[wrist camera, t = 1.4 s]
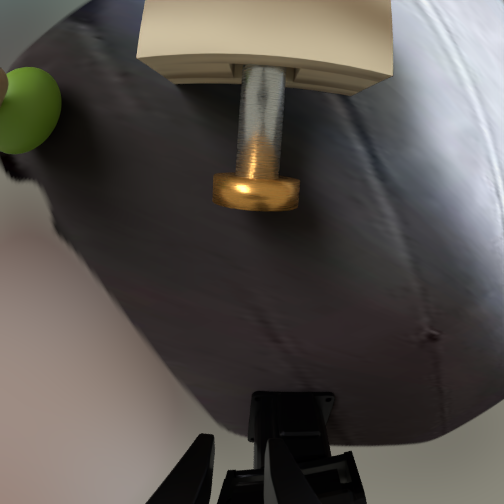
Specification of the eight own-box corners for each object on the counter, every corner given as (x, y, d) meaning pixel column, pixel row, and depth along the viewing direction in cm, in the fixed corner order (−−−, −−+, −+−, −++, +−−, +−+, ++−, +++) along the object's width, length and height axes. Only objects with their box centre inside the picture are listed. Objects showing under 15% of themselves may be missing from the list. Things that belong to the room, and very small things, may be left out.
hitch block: (350, 96, 15) (392, 75, 10) (174, 83, 15) (136, 58, 10) (352, 9, 13) (386, -36, 8) (184, -3, 13) (157, -52, 8)
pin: (293, 198, 16) (303, 214, 13) (218, 193, 16) (206, 207, 13) (305, -19, 12) (316, -54, 8) (235, -24, 12) (229, -61, 8)
